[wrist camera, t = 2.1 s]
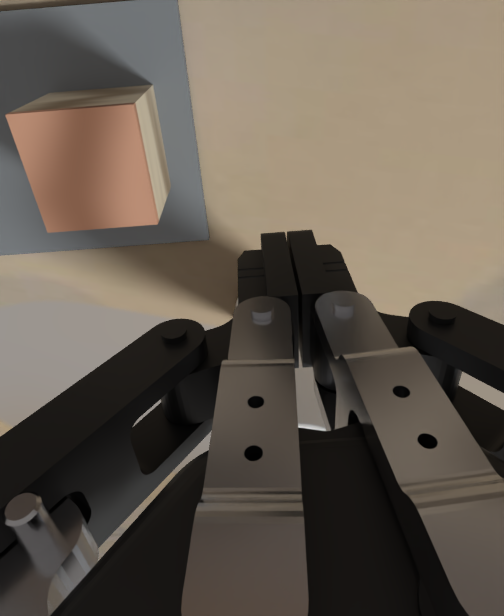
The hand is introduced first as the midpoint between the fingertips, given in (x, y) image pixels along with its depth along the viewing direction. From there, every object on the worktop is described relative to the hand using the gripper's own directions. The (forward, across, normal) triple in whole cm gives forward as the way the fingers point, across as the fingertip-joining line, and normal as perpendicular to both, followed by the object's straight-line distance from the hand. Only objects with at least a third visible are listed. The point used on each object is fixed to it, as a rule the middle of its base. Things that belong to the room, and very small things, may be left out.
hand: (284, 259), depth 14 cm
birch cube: (+16, +9, 0) cm, 19 cm away
